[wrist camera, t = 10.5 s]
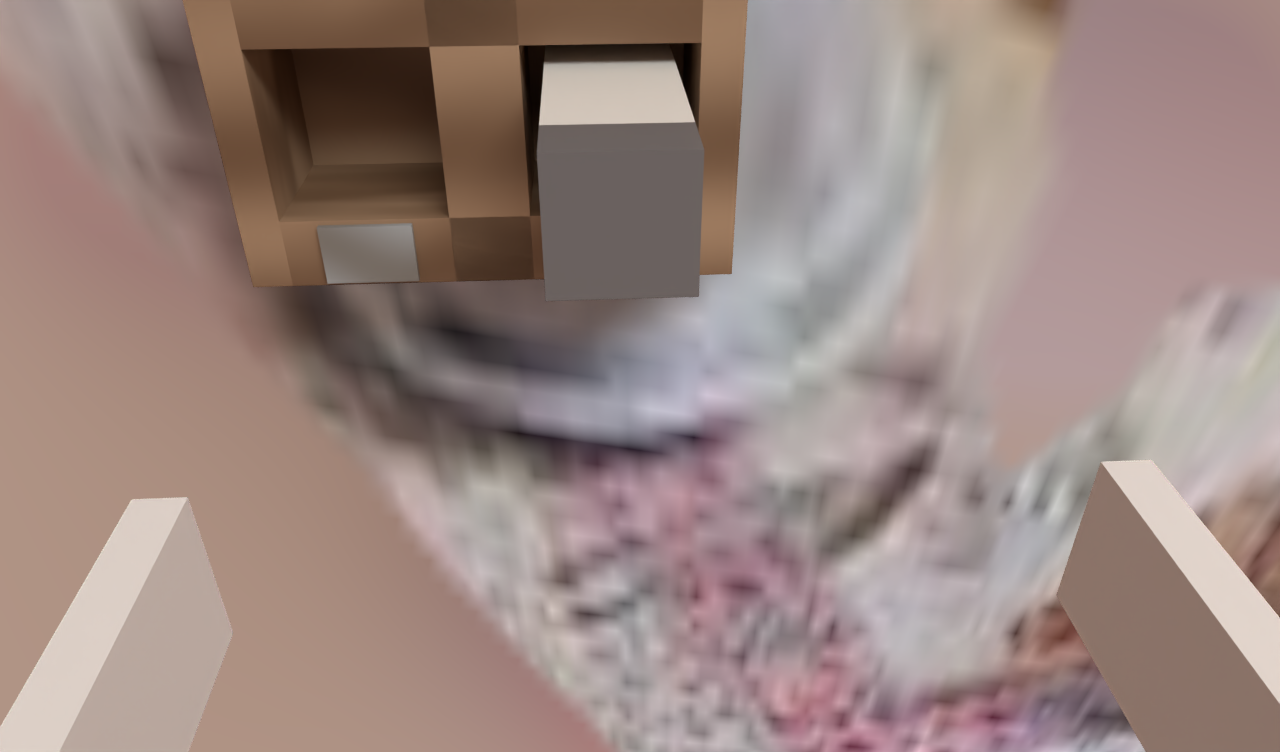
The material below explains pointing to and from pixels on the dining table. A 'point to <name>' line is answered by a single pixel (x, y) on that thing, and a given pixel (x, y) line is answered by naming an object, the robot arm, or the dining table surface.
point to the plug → (618, 174)
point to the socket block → (430, 127)
